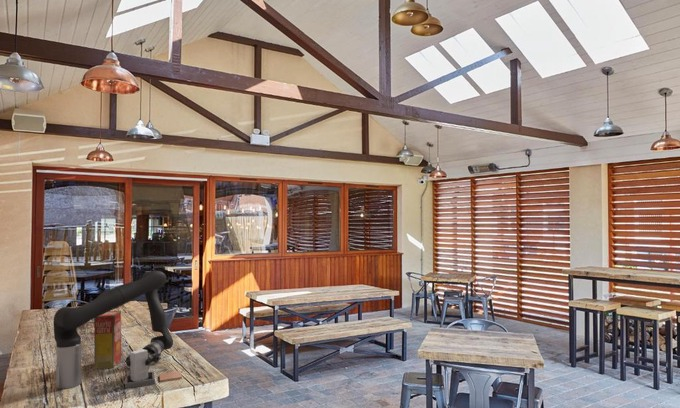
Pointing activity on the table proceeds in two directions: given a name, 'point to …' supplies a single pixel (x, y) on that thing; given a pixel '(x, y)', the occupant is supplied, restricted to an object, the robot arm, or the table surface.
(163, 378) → the tile
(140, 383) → the tray
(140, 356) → the skincare box
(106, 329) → the food packaging
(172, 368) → the table surface
